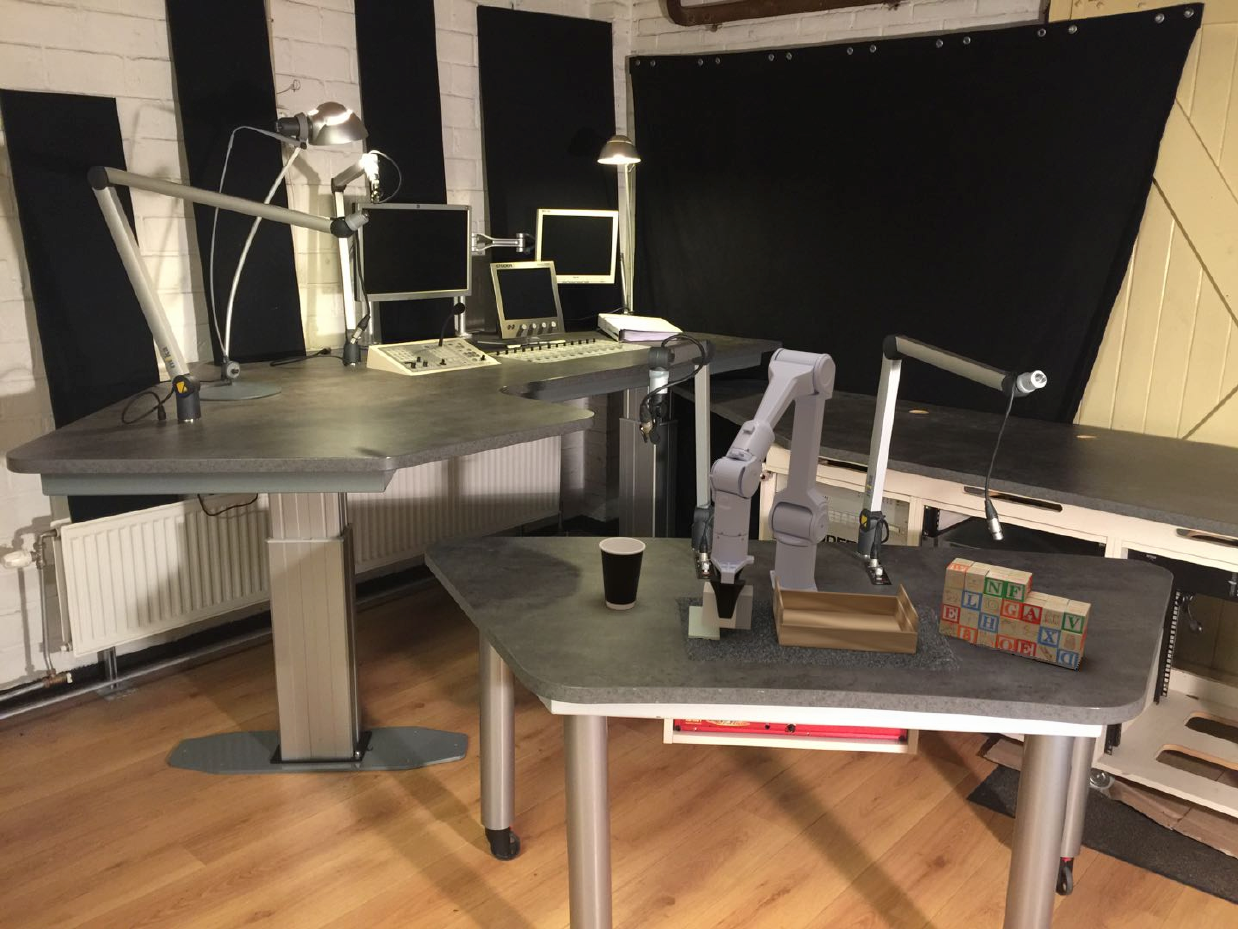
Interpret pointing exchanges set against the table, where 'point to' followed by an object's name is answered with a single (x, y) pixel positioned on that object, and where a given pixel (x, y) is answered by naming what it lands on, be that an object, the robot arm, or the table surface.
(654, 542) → the table surface
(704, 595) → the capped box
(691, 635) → the panel
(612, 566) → the dixie cup
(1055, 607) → the stack of blocks
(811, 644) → the wooden crate
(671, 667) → the table surface
